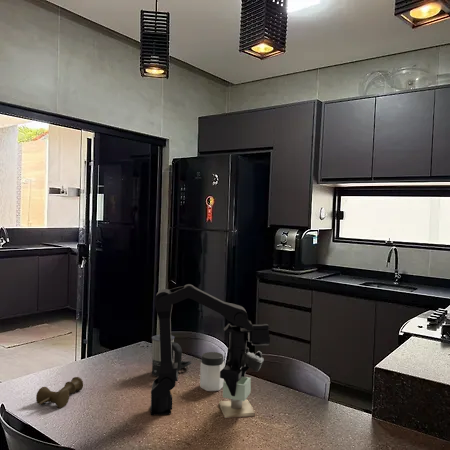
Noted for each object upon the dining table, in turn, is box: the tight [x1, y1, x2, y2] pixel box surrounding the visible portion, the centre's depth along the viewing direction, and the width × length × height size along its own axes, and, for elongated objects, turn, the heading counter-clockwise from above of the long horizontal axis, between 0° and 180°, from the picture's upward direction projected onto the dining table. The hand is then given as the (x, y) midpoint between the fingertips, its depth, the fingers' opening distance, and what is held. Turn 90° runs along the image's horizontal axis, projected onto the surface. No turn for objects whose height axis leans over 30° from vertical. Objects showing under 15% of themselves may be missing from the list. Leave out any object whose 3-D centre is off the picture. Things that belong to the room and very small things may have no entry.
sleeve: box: [222, 376, 252, 401], centre depth 143 cm, size 7×7×5 cm
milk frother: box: [151, 334, 192, 378], centre depth 177 cm, size 14×16×15 cm
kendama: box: [35, 376, 84, 409], centre depth 148 cm, size 6×10×20 cm
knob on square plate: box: [218, 398, 256, 419], centre depth 143 cm, size 10×10×6 cm
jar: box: [199, 351, 225, 392], centre depth 162 cm, size 9×8×12 cm
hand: (236, 391), depth 143 cm, fingers closed on sleeve, 7 cm apart
